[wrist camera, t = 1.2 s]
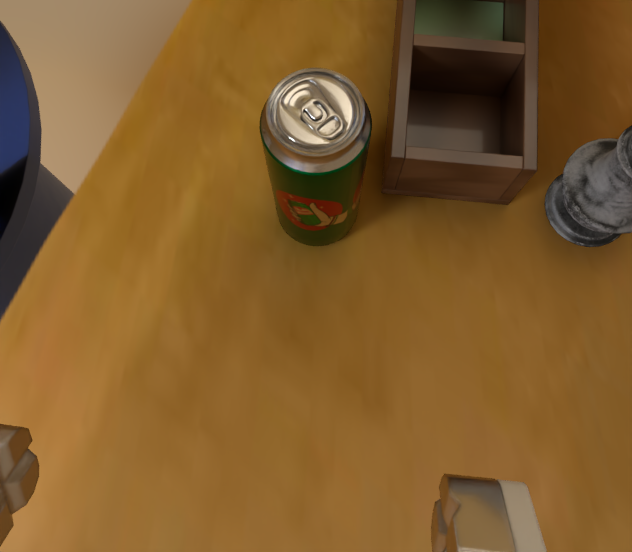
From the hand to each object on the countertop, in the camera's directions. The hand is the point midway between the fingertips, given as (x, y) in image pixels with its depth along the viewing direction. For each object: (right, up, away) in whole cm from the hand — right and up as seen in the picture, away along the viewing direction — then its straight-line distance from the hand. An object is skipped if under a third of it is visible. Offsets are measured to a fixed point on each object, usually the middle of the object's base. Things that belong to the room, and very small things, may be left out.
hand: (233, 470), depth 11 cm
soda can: (+2, +8, +25) cm, 26 cm away
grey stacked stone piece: (+19, +8, +25) cm, 32 cm away
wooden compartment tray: (+11, +20, +28) cm, 36 cm away
